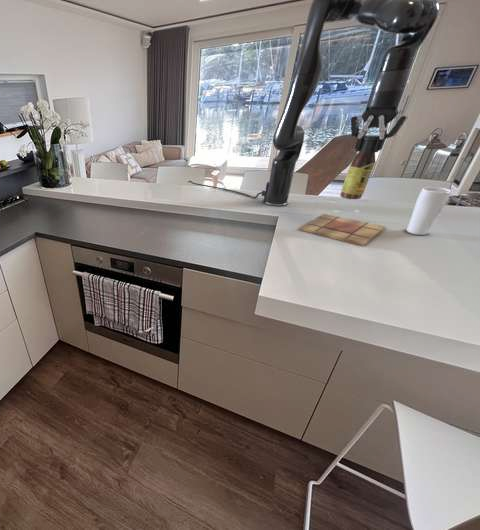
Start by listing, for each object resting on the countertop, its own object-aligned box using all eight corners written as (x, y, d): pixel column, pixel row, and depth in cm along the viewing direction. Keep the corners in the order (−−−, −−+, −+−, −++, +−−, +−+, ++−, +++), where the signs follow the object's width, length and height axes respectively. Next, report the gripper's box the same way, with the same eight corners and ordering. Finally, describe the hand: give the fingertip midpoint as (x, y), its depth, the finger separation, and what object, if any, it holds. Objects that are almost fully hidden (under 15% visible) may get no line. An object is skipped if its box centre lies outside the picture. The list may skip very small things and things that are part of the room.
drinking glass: (426, 230, 100) (447, 187, 93) (432, 237, 95) (455, 193, 88) (401, 227, 103) (419, 186, 96) (405, 234, 98) (425, 191, 91)
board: (299, 229, 108) (300, 226, 107) (323, 216, 118) (324, 213, 117) (363, 246, 94) (364, 242, 93) (384, 228, 104) (385, 225, 103)
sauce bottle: (356, 201, 96) (381, 137, 86) (336, 197, 100) (356, 136, 90) (364, 197, 99) (388, 134, 89) (343, 193, 104) (364, 133, 94)
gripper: (424, 86, 80) (399, 151, 89) (363, 90, 91) (346, 148, 99) (416, 87, 77) (391, 155, 85) (354, 91, 87) (336, 151, 95)
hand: (367, 151), depth 92 cm, fingers closed on sauce bottle, 4 cm apart
